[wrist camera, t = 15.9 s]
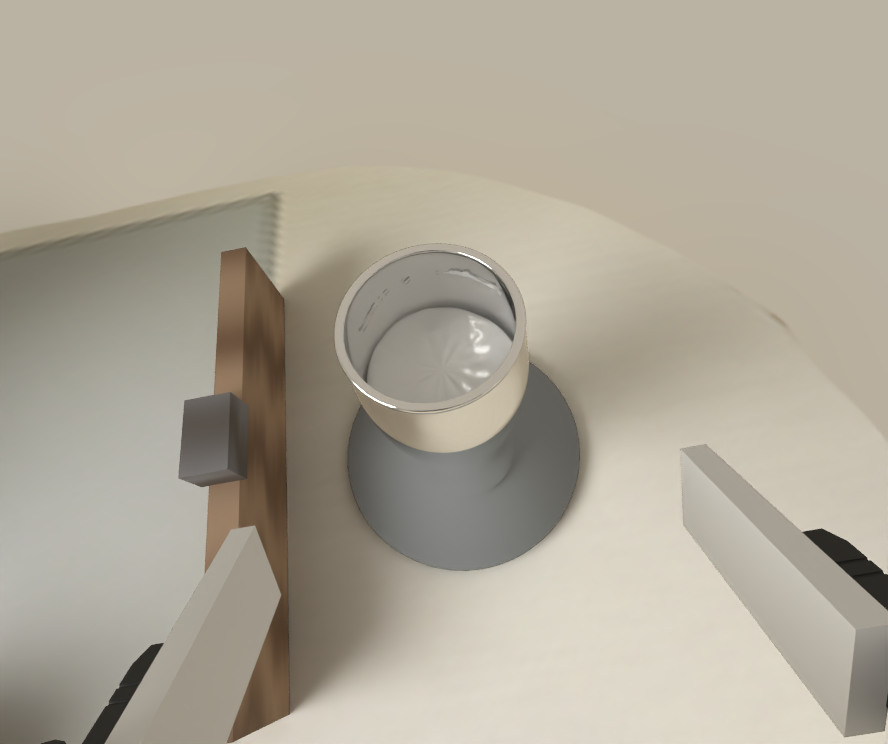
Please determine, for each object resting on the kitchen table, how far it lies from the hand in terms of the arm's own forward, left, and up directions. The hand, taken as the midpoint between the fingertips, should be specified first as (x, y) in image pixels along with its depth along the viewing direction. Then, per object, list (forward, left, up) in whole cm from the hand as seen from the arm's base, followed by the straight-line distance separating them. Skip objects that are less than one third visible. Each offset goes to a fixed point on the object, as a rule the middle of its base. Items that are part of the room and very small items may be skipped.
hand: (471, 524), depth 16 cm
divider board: (-12, -7, -14) cm, 20 cm away
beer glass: (-6, +3, -14) cm, 15 cm away
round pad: (-6, +3, -14) cm, 16 cm away
